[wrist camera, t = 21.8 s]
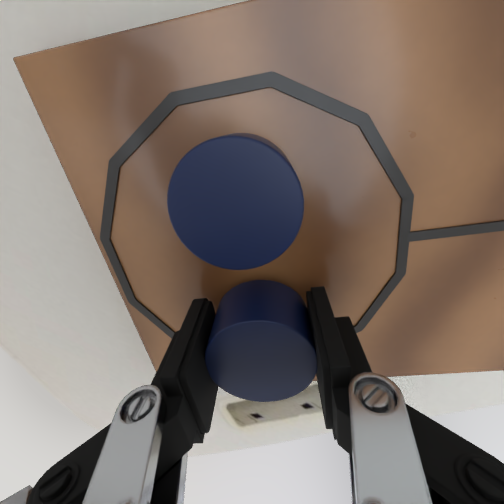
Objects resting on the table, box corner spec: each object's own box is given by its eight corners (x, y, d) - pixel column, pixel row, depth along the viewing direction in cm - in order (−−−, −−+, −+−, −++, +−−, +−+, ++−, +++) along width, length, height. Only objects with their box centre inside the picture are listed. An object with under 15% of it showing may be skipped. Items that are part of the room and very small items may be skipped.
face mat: (169, 375, 16) (163, 391, 15) (36, 63, 9) (8, 56, 8) (491, 354, 14) (508, 372, 13) (628, -77, 7) (688, -110, 6)
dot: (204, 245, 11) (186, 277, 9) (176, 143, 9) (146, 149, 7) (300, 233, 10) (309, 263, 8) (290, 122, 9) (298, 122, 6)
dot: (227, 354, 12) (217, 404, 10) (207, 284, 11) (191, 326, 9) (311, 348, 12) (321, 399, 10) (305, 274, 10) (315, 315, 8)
